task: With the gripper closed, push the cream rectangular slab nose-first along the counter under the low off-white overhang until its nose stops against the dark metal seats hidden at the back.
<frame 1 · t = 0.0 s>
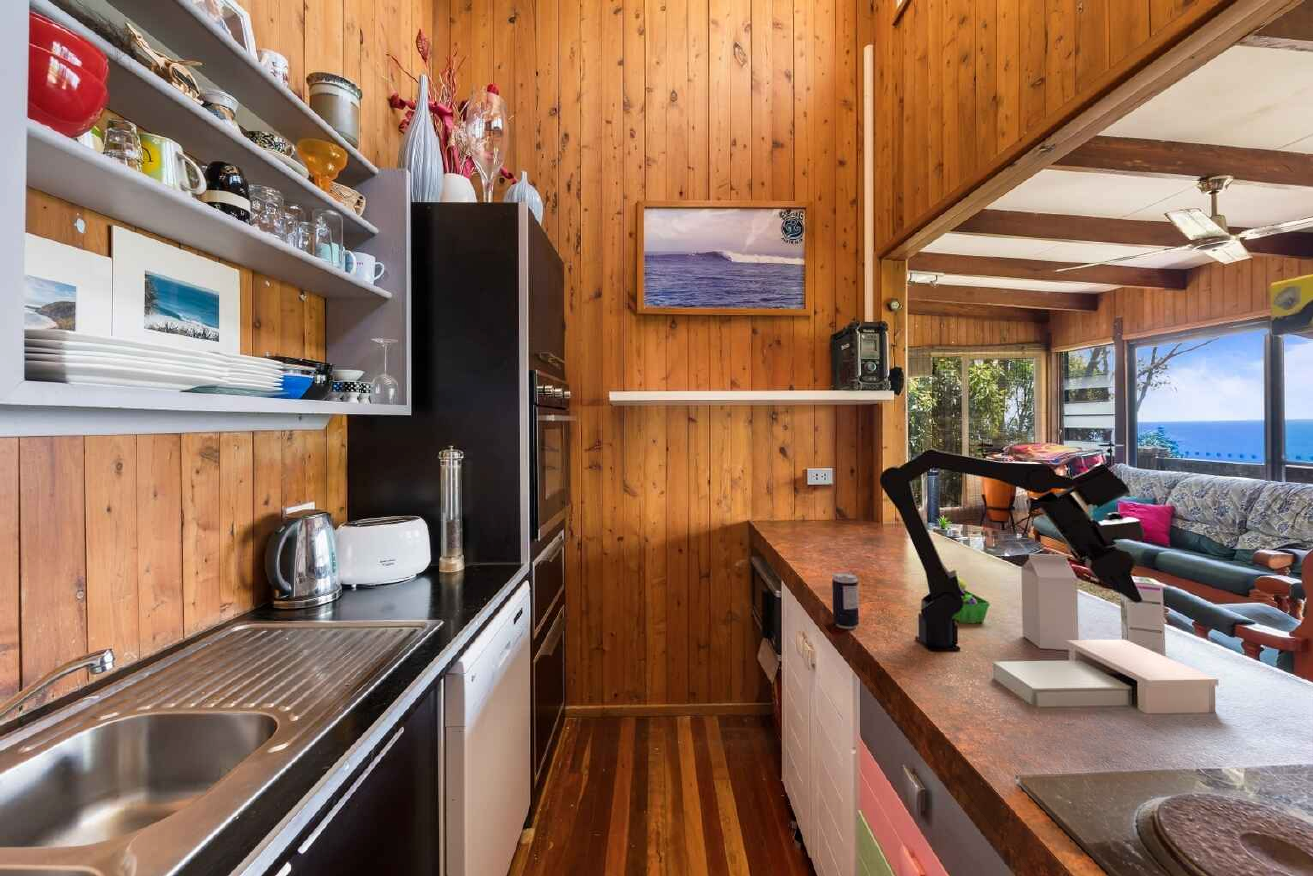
hand: (1130, 594, 93), 15 cm above the countertop, tool tilted 35°, fingers open, 9 cm apart
fruit basket: (959, 617, 125), on the countertop
milk carton: (1049, 644, 108), on the countertop
overhang: (1133, 689, 88), on the countertop
cream rectangular slab: (1058, 691, 88), on the countertop
syrup box: (1142, 651, 104), on the countertop
beverage can: (845, 626, 120), on the countertop
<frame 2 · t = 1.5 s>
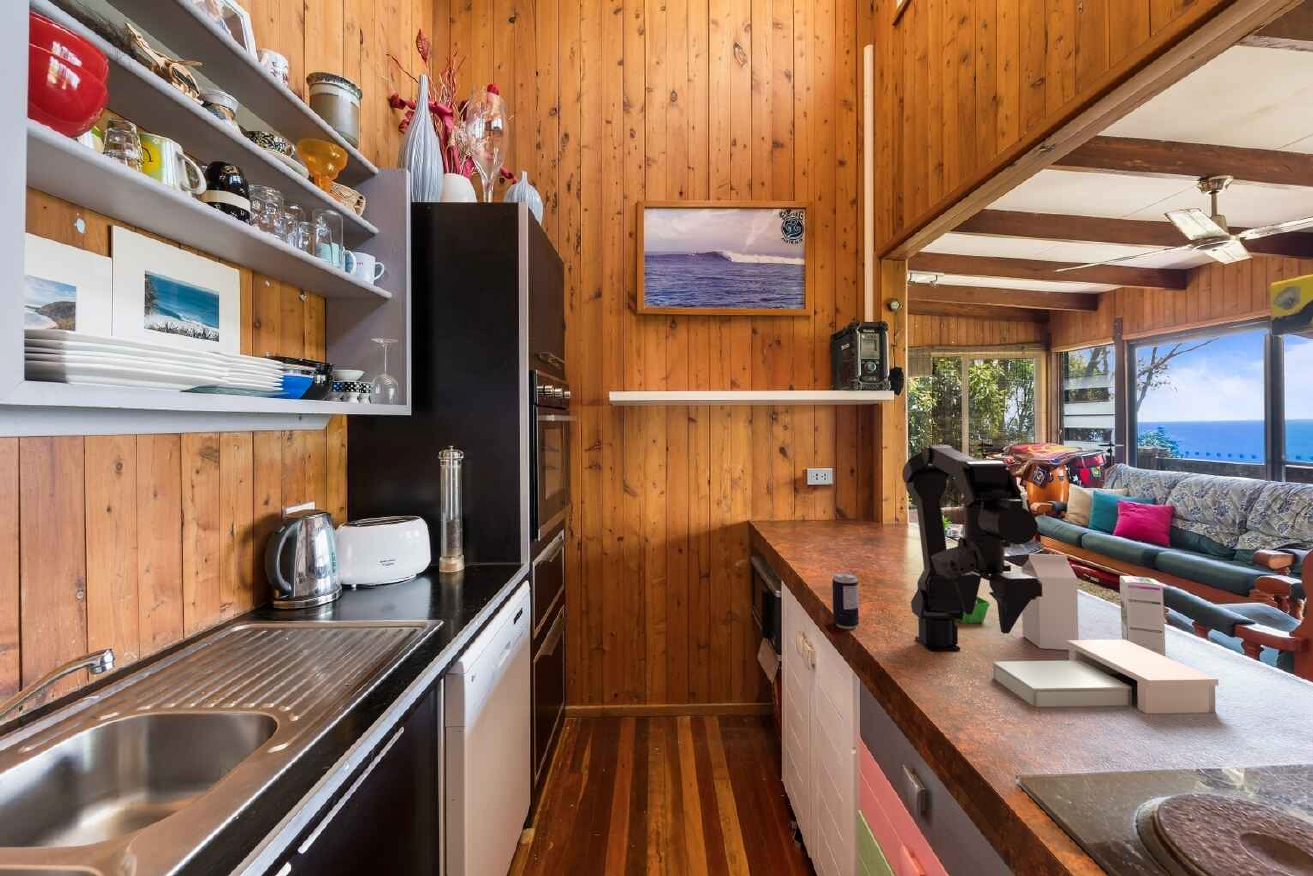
hand: (985, 623, 88), 12 cm above the countertop, tool pointing down, fingers open, 9 cm apart
nothing on the countertop moved.
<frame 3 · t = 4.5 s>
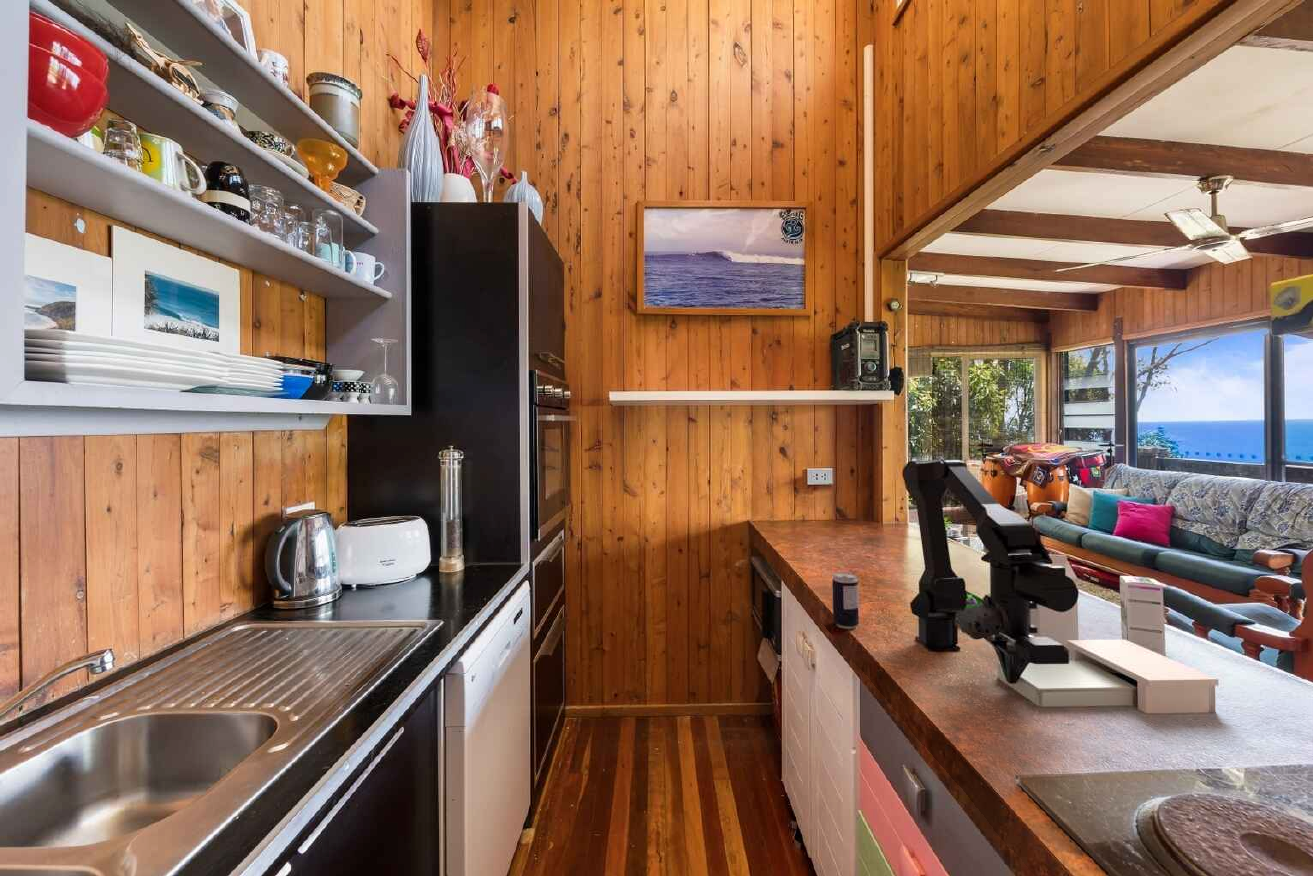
hand: (1011, 682, 88), 2 cm above the countertop, tool pointing down, fingers closed, pressing on cream rectangular slab
cream rectangular slab: (1063, 691, 88), on the countertop, touching gripper
everything else where it was.
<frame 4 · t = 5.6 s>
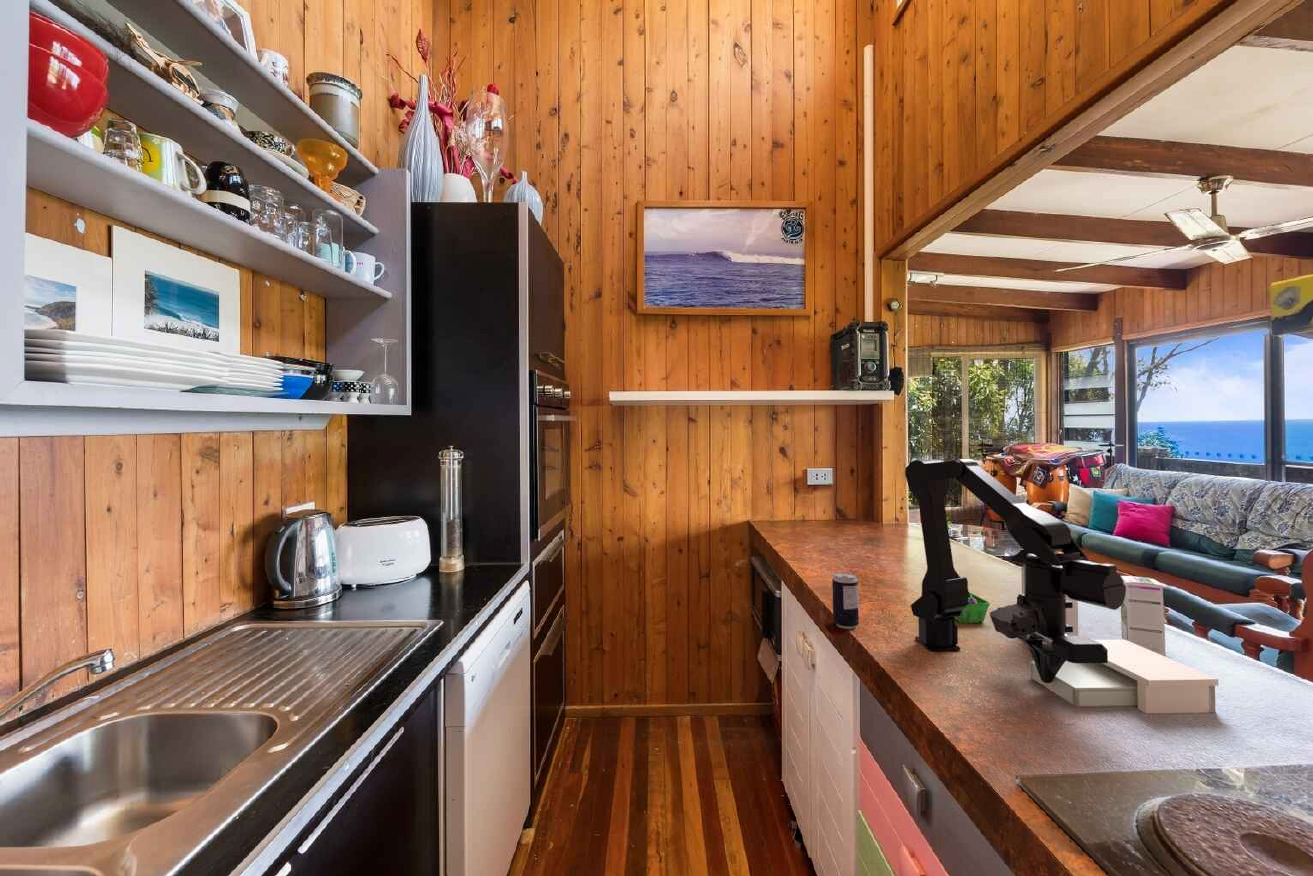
hand: (1046, 682, 88), 2 cm above the countertop, tool pointing down, fingers closed, pressing on cream rectangular slab
cream rectangular slab: (1098, 690, 88), on the countertop, touching gripper
everything else where it was.
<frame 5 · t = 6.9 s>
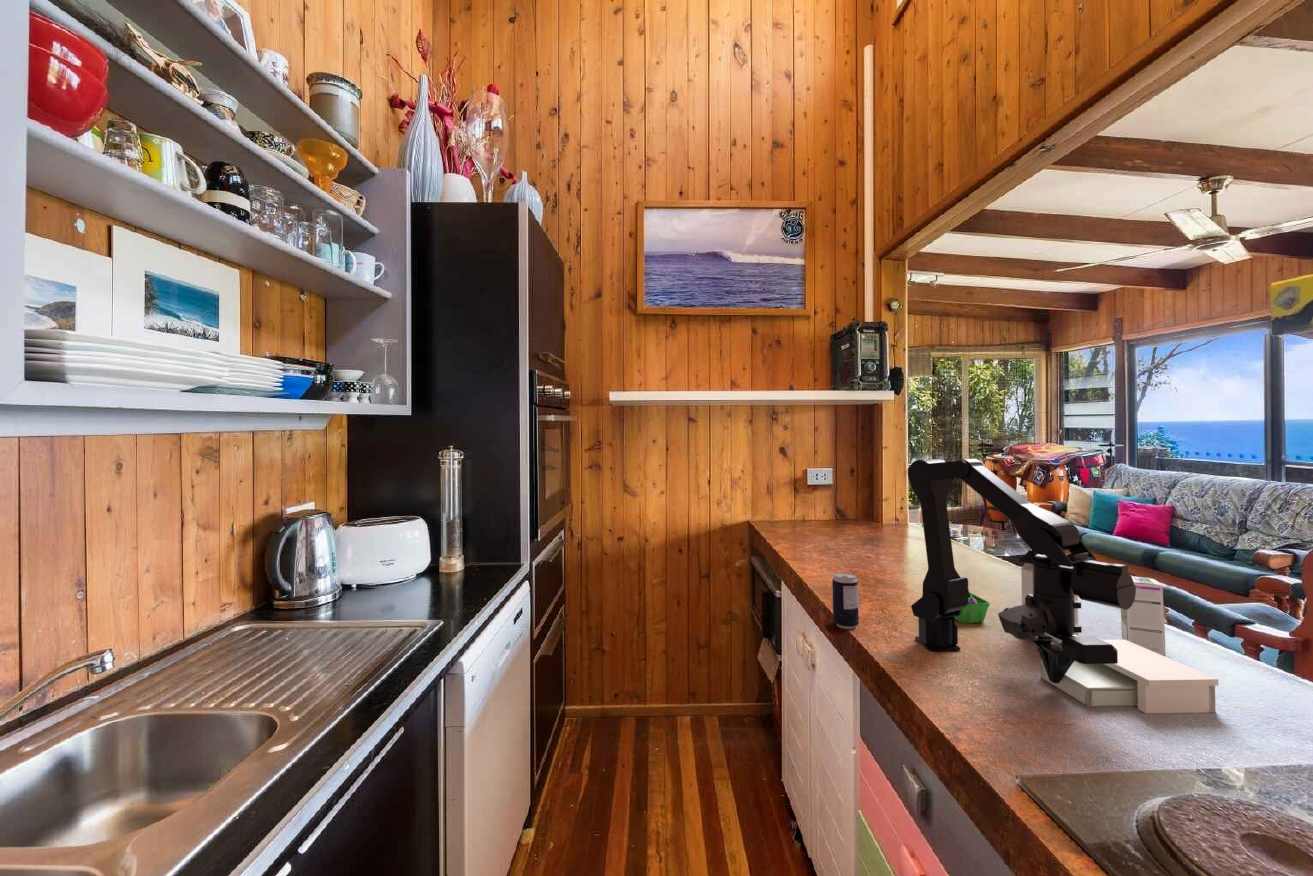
hand: (1054, 682, 88), 1 cm above the countertop, tool pointing down, fingers closed
cream rectangular slab: (1109, 690, 88), on the countertop
everything else where it was.
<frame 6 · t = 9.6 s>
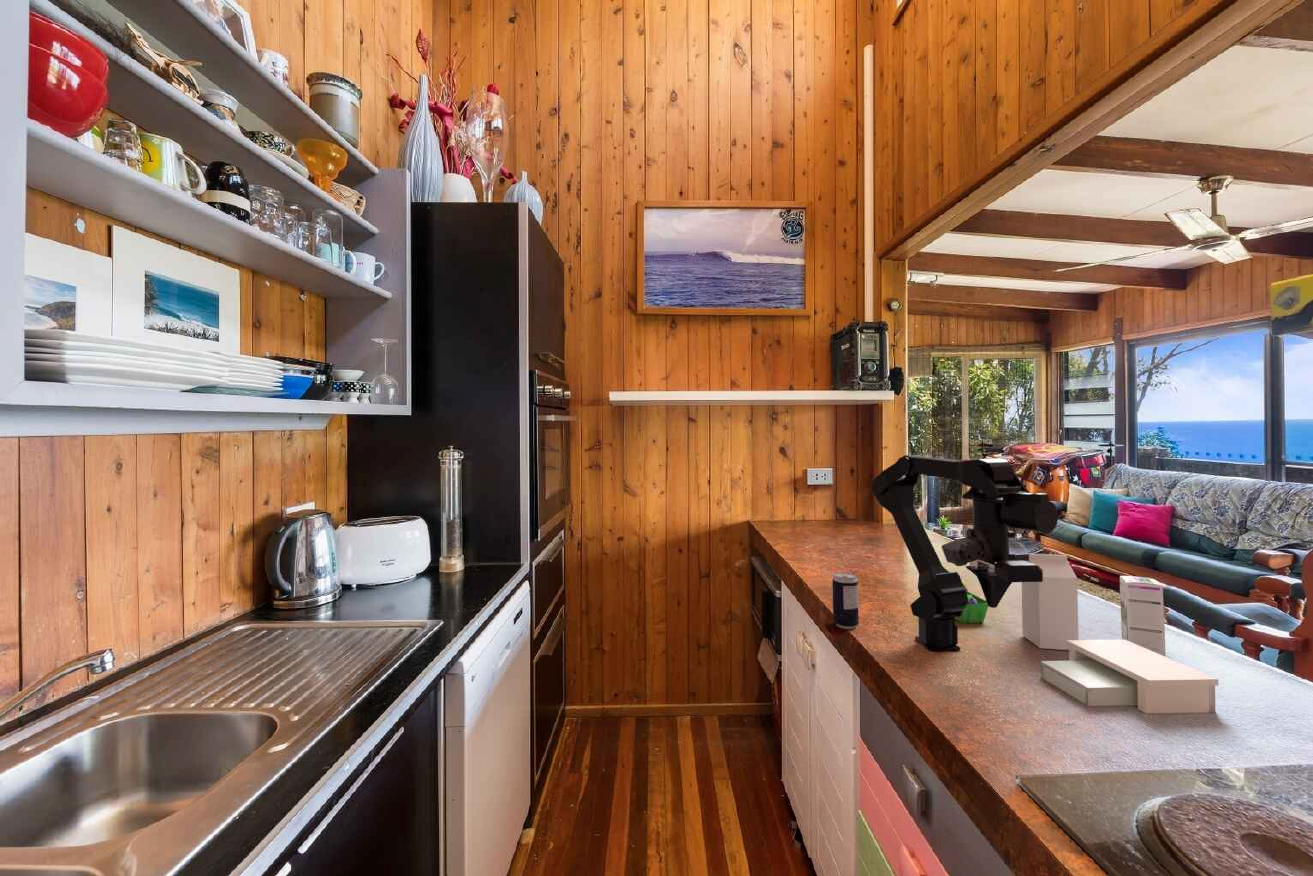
hand: (992, 607, 96), 12 cm above the countertop, tool pointing down, fingers closed
nothing on the countertop moved.
at the end: cream rectangular slab 0.4 cm from the target spot, on the countertop; cream rectangular slab tilted 0° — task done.
